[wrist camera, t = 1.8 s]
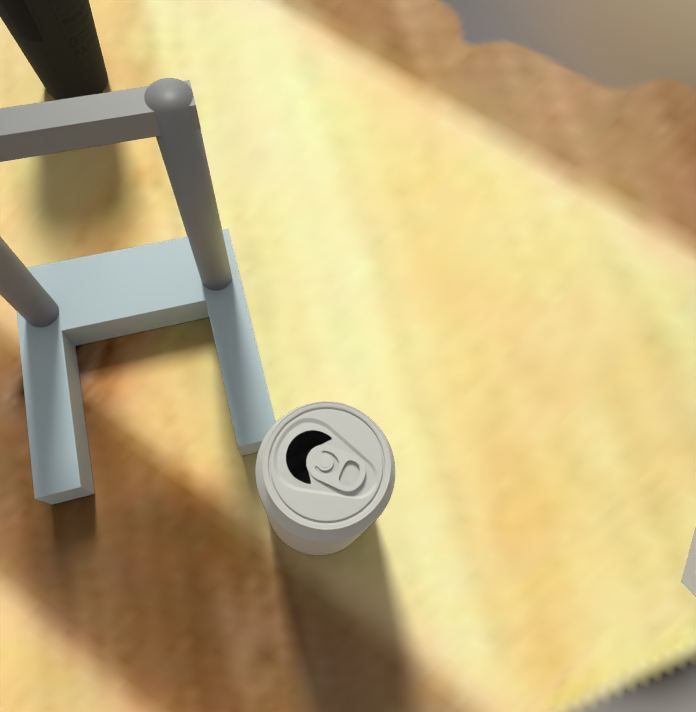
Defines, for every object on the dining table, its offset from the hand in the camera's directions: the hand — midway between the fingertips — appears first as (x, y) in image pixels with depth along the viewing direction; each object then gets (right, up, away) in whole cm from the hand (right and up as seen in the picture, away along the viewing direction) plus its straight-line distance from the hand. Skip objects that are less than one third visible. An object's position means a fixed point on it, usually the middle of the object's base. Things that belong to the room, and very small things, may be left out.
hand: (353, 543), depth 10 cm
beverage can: (-2, -6, +27) cm, 28 cm away
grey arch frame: (-13, +2, +29) cm, 32 cm away
